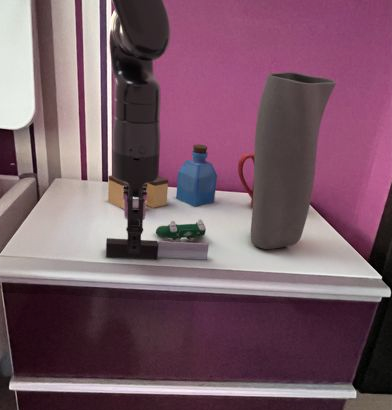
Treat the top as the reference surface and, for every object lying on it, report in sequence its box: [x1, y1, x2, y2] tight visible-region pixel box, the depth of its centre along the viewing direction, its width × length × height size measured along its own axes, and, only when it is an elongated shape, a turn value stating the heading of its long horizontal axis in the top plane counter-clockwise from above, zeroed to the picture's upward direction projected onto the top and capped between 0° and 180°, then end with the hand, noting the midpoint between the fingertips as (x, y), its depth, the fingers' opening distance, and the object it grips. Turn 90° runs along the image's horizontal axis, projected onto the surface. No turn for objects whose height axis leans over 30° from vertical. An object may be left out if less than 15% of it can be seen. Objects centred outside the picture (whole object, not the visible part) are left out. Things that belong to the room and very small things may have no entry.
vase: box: [250, 71, 337, 250], centre depth 103 cm, size 12×12×30 cm
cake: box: [107, 174, 169, 211], centre depth 121 cm, size 10×8×6 cm
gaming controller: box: [155, 219, 207, 242], centre depth 107 cm, size 9×4×6 cm
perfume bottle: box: [175, 143, 218, 207], centre depth 125 cm, size 6×6×12 cm
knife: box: [105, 237, 210, 261], centre depth 100 cm, size 18×2×3 cm, turn 96°
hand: (133, 242), depth 99 cm, fingers open, 8 cm apart
